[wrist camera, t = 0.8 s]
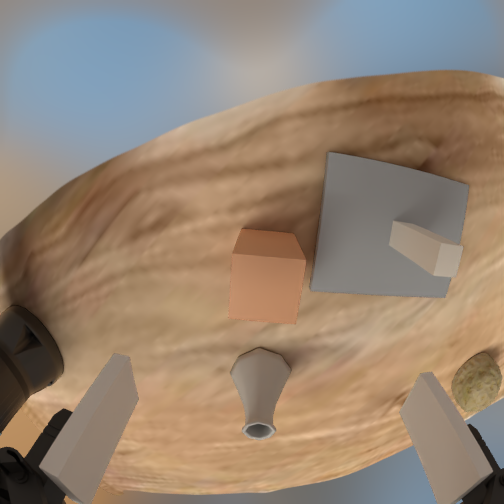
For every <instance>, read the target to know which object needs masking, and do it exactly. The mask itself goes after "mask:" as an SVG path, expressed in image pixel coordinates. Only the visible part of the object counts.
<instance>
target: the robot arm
mask: <svg viewBox="0 0 504 504" xmlns="http://www.w3.org/2000/svg"><path fill="white" fill-rule="evenodd" d="M62 373H63V362H62V358H61V355H60V352H59V350H58V348H57V346H56V344H55V342H54V340H53V339H52V337H51V336H50V334H49V333H48V331H47V330H46V328H45V327H44V326H43V325H42V324H41V322H40V321H39V320H38V319H37V318H36V317H35V316H34V315H33V314H31V313H30V312H29V311H27V310H26V309H24V308H22V307H20V306H11V307H9V308H8V309H7V310H5V311H4V312H3V313H2V314H1V315H0V435H1V434H2V431H3V430H4V429H5V427H6V426H7V424H8V423H9V422H10V421H11V419H12V418H13V417H14V415H15V414H16V413H17V412H18V410H19V409H20V408H21V407H22V405H23V404H24V403H25V402H26V400H27V399H28V398H29V397H30V396H31V395H32V394H34V393H36V392H39V391H41V390H42V389H44V388H46V387H47V386H51V385H53V384H54V383H55V382H56V381H57V380H58V379H59V378H60V376H61V375H62ZM138 400H139V398H138V393H137V389H136V385H135V381H134V376H133V371H132V367H131V362H130V357H129V356H124V355H120V354H116V353H114V354H113V356H112V357H111V358H110V360H109V361H108V363H107V364H106V365H105V367H104V368H103V370H102V371H101V372H100V374H99V375H98V377H97V378H96V379H95V381H94V382H93V384H92V385H91V387H90V388H89V390H88V391H87V392H86V394H85V395H84V397H83V398H82V400H81V401H80V403H79V404H78V406H77V407H76V409H75V410H74V412H71V411H69V410H66V409H62V410H61V411H59V412H58V413H56V414H55V415H54V416H53V417H52V418H51V420H50V421H49V423H48V426H46V427H45V429H44V430H43V433H41V434H40V436H39V437H38V439H37V440H36V442H35V443H34V445H33V446H32V448H31V450H30V451H29V453H28V454H27V456H26V457H25V458H23V457H22V455H21V454H20V453H19V452H18V451H17V450H15V449H14V448H11V447H4V448H0V504H66V503H65V501H64V498H65V496H66V495H67V496H68V497H69V498H70V499H71V500H72V501H75V502H76V503H79V504H91V503H92V501H93V498H94V496H95V493H96V491H97V489H98V487H99V484H100V482H101V480H102V477H103V475H104V473H105V471H106V468H107V466H108V464H109V462H110V459H111V457H112V455H113V453H114V451H115V449H116V446H117V444H118V442H119V440H120V438H121V436H122V433H123V431H124V429H125V427H126V425H127V423H128V421H129V419H130V417H131V415H132V412H133V410H134V408H135V406H136V404H137V402H138ZM399 413H400V415H401V417H402V420H403V422H404V424H405V426H406V428H407V431H408V433H409V435H410V437H411V440H412V442H413V444H414V446H415V449H416V451H417V453H418V456H419V458H420V461H421V463H422V465H423V468H424V470H425V473H426V475H427V478H428V480H429V483H430V485H431V488H432V491H433V493H434V496H435V499H436V501H437V504H456V503H457V502H458V501H459V500H461V499H462V500H463V502H462V503H460V504H504V468H503V469H500V468H499V466H498V464H497V463H496V461H495V459H494V457H493V455H492V454H491V452H490V450H489V449H488V447H487V446H486V443H485V442H484V440H482V437H481V435H480V433H479V432H478V430H477V429H476V428H474V427H473V426H472V425H471V424H468V425H467V424H466V423H465V421H464V419H463V418H462V416H461V415H460V413H459V412H458V410H457V408H456V407H455V405H454V404H453V402H452V401H451V399H450V398H449V396H448V395H447V393H446V392H445V390H444V389H443V387H442V386H441V384H440V383H439V381H438V380H437V378H436V377H435V376H434V374H433V373H432V372H426V373H420V374H419V376H418V378H417V380H416V382H415V384H414V386H413V388H412V390H411V392H410V394H409V395H408V397H407V399H406V401H405V403H404V404H403V406H402V408H401V410H400V411H399Z"/></svg>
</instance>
